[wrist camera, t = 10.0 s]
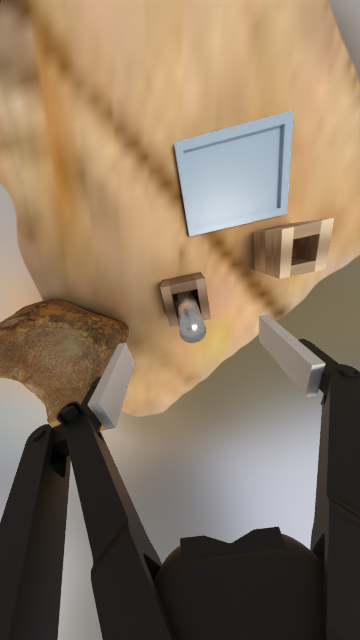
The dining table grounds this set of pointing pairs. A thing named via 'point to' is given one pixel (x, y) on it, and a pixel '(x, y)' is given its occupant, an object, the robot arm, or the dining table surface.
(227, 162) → the tray
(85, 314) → the rough brown rock
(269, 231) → the block
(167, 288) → the brown hollow block
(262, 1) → the dining table surface
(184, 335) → the silver metal rod
